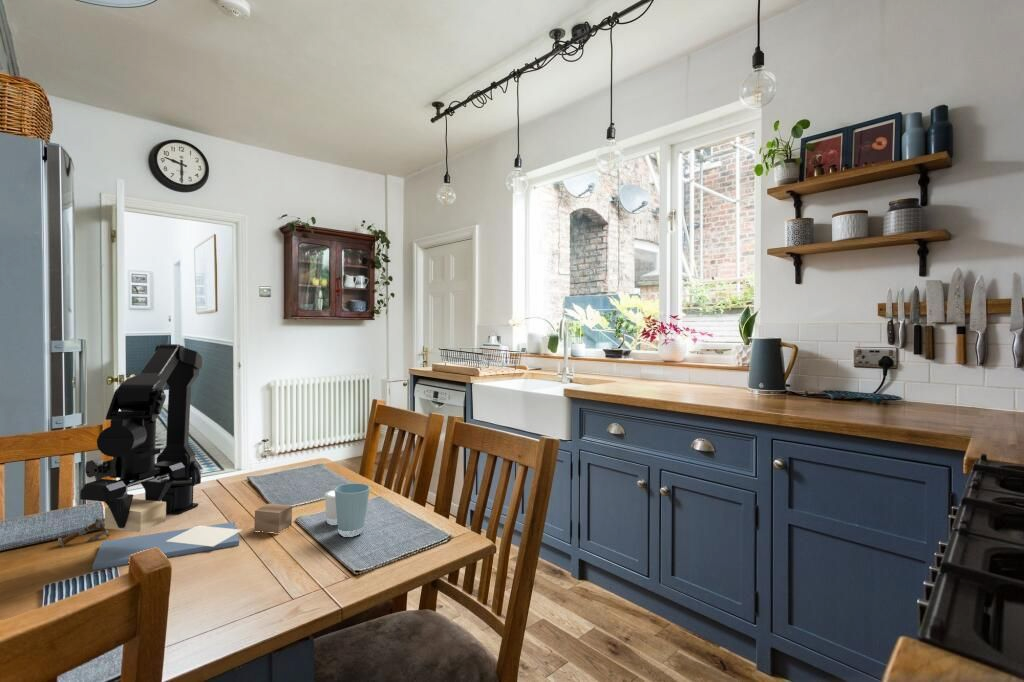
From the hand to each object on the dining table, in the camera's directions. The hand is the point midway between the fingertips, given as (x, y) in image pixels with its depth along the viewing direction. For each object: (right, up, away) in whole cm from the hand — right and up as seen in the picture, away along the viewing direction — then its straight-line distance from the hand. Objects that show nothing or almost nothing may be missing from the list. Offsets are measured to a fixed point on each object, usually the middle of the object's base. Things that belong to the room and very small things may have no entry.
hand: (135, 521), depth 102 cm
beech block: (0, -1, 0) cm, 1 cm away
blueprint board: (+5, -6, +3) cm, 9 cm away
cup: (+39, -8, +14) cm, 42 cm away
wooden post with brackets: (-14, -6, +4) cm, 16 cm away
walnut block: (+21, -7, +14) cm, 26 cm away
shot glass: (+34, -7, +20) cm, 40 cm away
